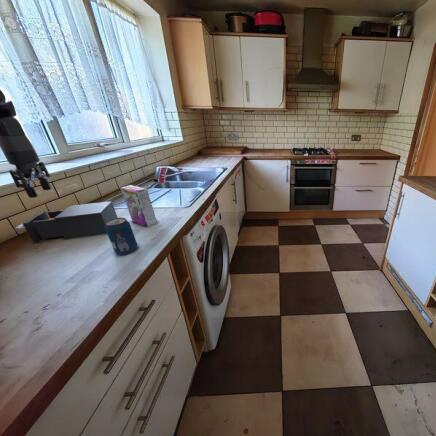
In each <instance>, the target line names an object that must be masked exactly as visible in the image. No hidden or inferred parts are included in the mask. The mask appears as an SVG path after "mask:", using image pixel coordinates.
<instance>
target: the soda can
mask: <svg viewBox="0 0 436 436" xmlns="http://www.w3.org/2000/svg"><path fill="white" fill-rule="evenodd" d="M105 230H106V232H107V237H108V239H109V241H110V244H111V246H112V249H113V251H114V252H115V253H116V254H117V255H120V256H125V255H129V254H131V253H134V252H135V251H136V250H137V249H138V242H137V239H136V236H135V233H134V230H133V228H132V225H131V222H130V221H128V220H127V217H118V218H115V219H112V220H109V221H107V222H106V227H105Z"/></svg>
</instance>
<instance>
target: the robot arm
mask: <svg viewBox="0 0 436 436" xmlns="http://www.w3.org/2000/svg"><path fill="white" fill-rule="evenodd" d="M0 150H1V152H2V153H3V155H4V158H5V159H6V161H7V162H8V164H10V165H12V166H15V169H9V171H8V172H9V174H10V176H11V179H12V180H13V182H14V184H15V186H16V188H19V189H21V188H22V189H24V191H25V193H26V194H27V196H28V198H30V199H32V198H34V199H35V198H37V197H39V195H38V192H37V191H36V189H35V187H34V186H33V185H34V184H33V182H34V181H35V179H37V180H38V182H39V185H40V186H41V188H42V190H43V191H50V190H52V187H51V185H50V183H49V181H48V180H49V178H51V175H50V173H49V170H48V169H47V167H46V165H45V163H44V162H43V161H41V160H40V159H41V158H40V157H39V155H38V153H37V151H36V149H35V147H34V144H33V143H32V141H31V139H30V138H29V136H28V135H27V132H26V130H25V128H24V126H23V124H22V123H21V120H20V119H19V117H18V113H17V110H16V106H15V103H14V101H13V99H12V96H10V94H9V92H8V91H7V90H6V89H5V88H3V87H2V86H0Z"/></svg>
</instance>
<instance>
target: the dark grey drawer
mask: <svg viewBox="0 0 436 436" xmlns="http://www.w3.org/2000/svg"><path fill="white" fill-rule="evenodd" d="M64 210H65V209H59V210H51V211H46V210H42V211H40V212H38V213H37V214H35V215H33V216H32V217H31V218H29V219H27V220H26V221H24V222H22V223H21V224H19V225H18V226H16V227H15V228H14V231H16V232H20V231H21V230H26V232H27V234H28V235H29V237H30V239H31V240H32V242H38V241H39V240H41V239H42V240H43V239H44V240H45V239H51V238H59V237H64V236H63V234H62V232H61V230H60V228H59V227H58V225H57V223H56V221H55V219H50V218H55V217H56V216H58V215H59V214H60V213H62V212H63V211H64ZM48 219H49V220H48Z"/></svg>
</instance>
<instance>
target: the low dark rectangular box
mask: <svg viewBox="0 0 436 436" xmlns="http://www.w3.org/2000/svg"><path fill="white" fill-rule="evenodd" d="M63 210H64V211H63V212H62V213H60V214H59V215H58V216H56V217H55V218H54V219H55V221H56V223H57V225H58V227H59V228H60V230H61V232H62V234H63V236H62V237H63V238H64V240H71V239H77V238H84V237H85V238H86V237H92V236H99V235H106V234H107V232H106V230H105V227H106V222H107V221H109V220H112V219H115V218H119V217H118V214H117V212H116V209H115V207H114V204H113V201H111V200H110V201H102V202H101V201H100V202H92V203H84V204H83V203H81V204H73V205H70V206H68V207H67V208H65V209H63ZM107 235H108V234H107Z"/></svg>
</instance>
